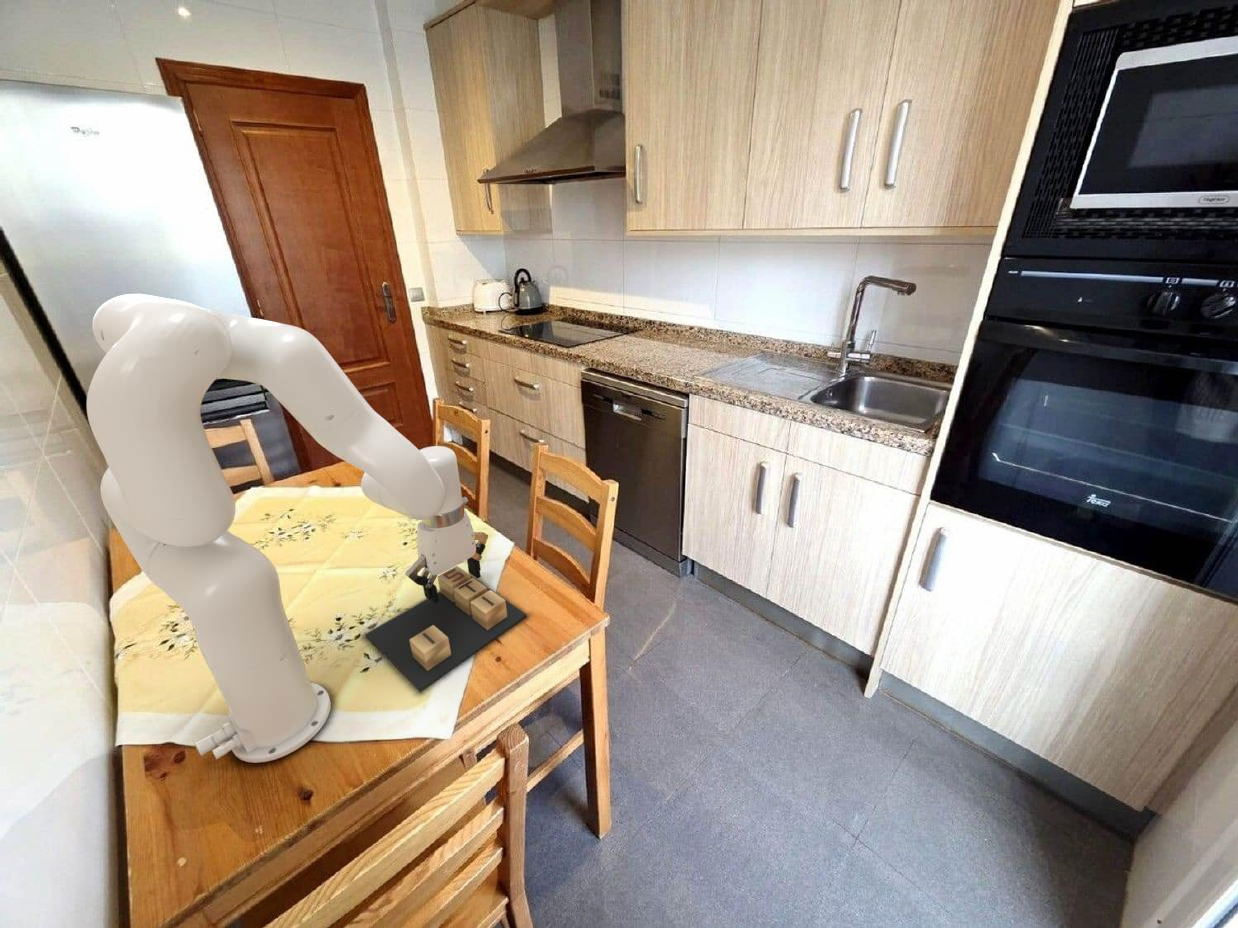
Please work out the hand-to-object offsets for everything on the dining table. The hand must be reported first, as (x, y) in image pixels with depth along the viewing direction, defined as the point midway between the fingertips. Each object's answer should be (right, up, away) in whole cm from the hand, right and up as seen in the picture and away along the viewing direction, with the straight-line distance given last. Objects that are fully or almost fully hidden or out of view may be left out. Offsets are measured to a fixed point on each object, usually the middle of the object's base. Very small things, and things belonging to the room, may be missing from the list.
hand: (454, 586), depth 99 cm
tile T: (+4, -3, -2) cm, 6 cm away
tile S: (0, -1, +1) cm, 1 cm away
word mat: (+1, -6, -7) cm, 9 cm away
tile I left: (+1, -8, -14) cm, 16 cm away
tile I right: (+9, -4, -6) cm, 11 cm away
